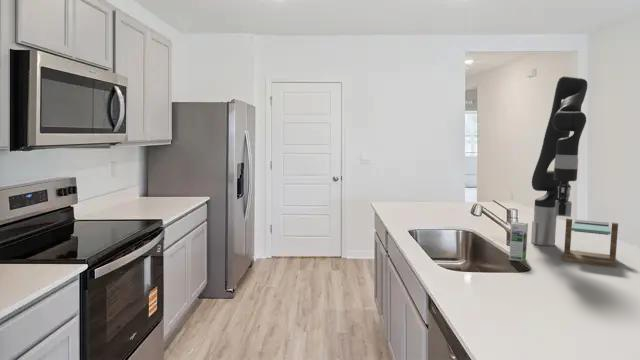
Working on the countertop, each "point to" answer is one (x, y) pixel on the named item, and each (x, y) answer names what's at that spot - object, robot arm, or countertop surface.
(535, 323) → the countertop surface
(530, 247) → the countertop surface
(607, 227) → the trapdoor
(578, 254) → the frame
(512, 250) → the syrup box
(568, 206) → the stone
